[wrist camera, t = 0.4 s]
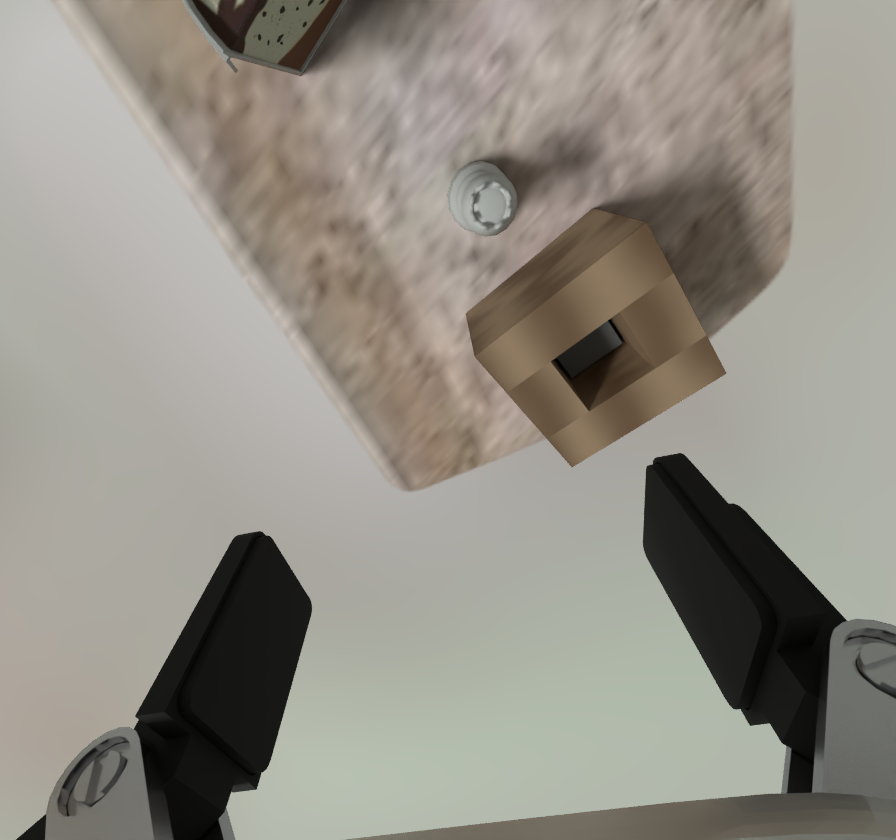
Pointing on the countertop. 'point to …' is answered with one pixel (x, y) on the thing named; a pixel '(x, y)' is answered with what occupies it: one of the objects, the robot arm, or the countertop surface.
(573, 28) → the countertop surface
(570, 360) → the black rectangular box
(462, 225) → the rook chess piece
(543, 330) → the socket block
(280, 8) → the food container
